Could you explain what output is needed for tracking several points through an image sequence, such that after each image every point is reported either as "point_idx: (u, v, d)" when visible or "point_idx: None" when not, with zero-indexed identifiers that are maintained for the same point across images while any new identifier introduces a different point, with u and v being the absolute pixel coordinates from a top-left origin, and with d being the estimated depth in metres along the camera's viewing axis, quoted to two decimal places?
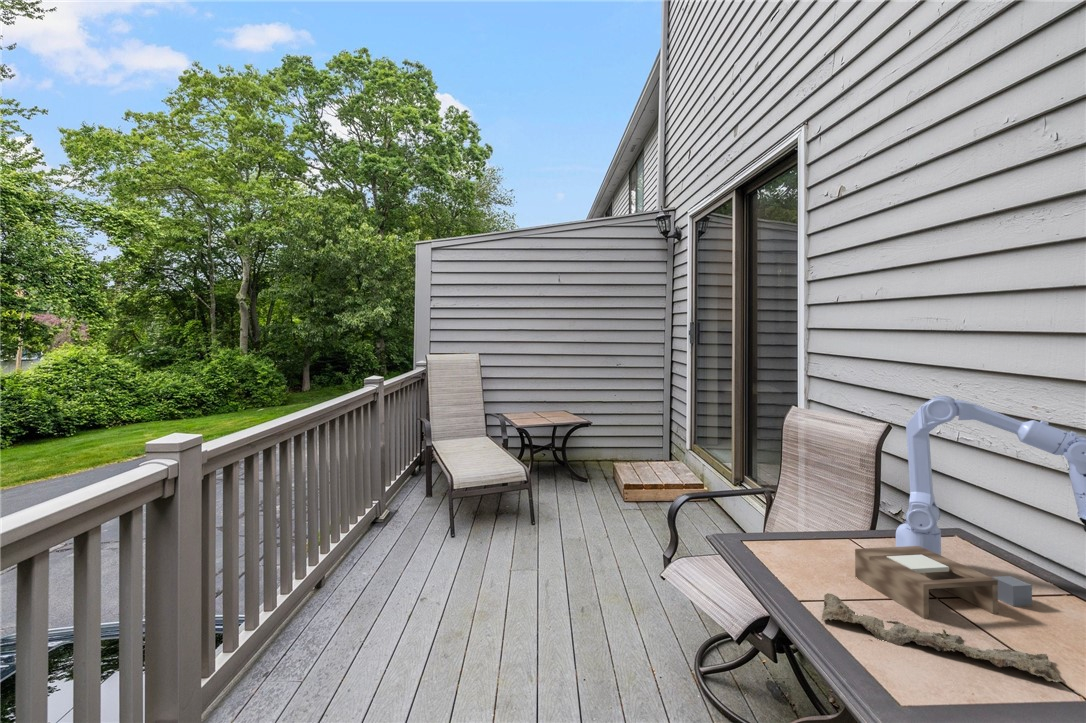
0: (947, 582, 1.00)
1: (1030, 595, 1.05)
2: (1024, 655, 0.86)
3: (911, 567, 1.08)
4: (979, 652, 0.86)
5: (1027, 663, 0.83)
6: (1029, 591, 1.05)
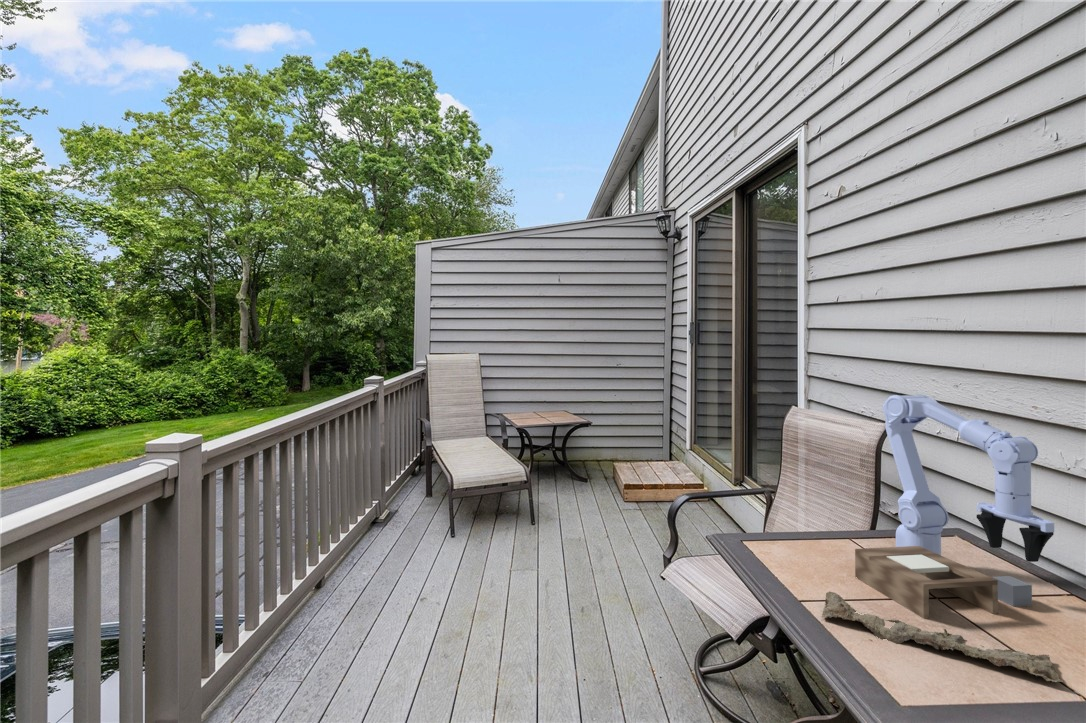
0: (947, 582, 1.00)
1: (1030, 595, 1.05)
2: (1025, 655, 0.86)
3: (911, 567, 1.08)
4: (979, 651, 0.86)
5: (1027, 663, 0.82)
6: (1029, 591, 1.05)
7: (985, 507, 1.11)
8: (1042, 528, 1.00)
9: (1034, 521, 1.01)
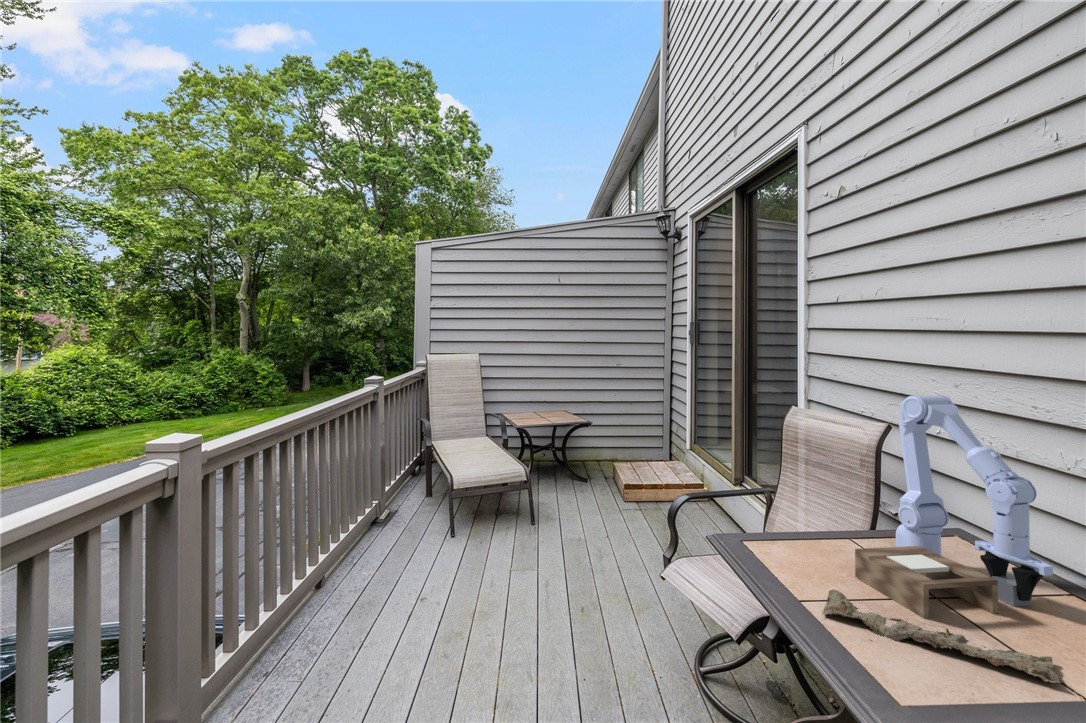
0: (947, 582, 1.00)
1: None
2: (1027, 657, 0.86)
3: (911, 567, 1.08)
4: (978, 651, 0.86)
5: (1027, 664, 0.82)
6: None
7: (983, 546, 1.11)
8: (1041, 571, 1.00)
9: (1033, 564, 1.01)
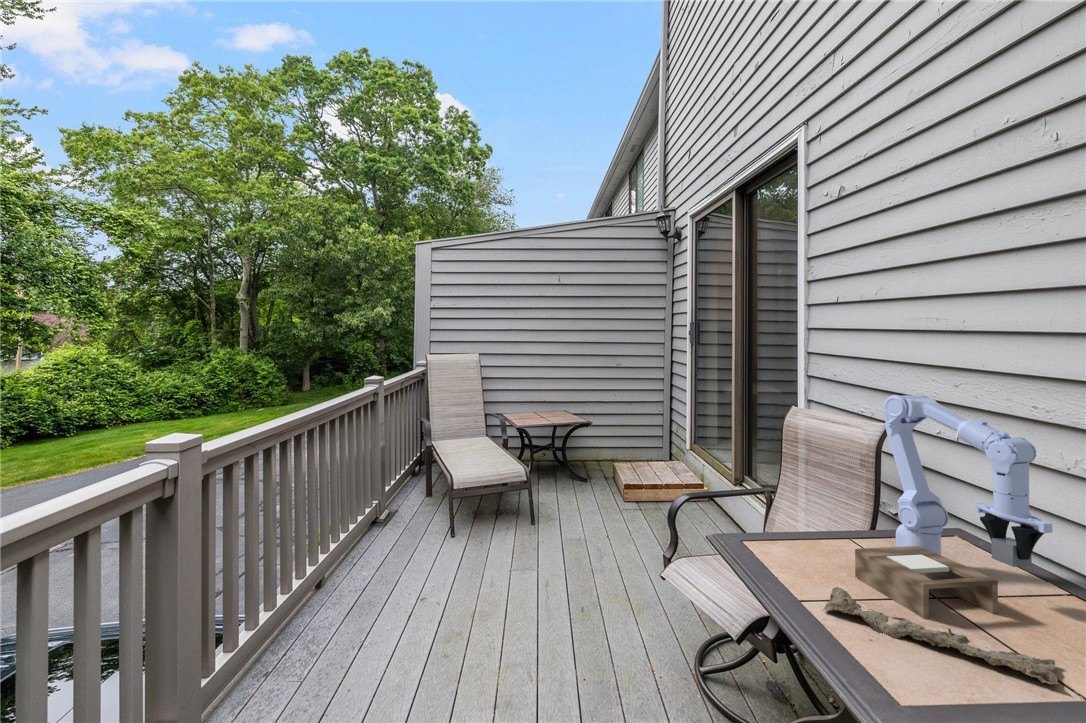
0: (947, 582, 1.00)
1: None
2: (1029, 659, 0.85)
3: (911, 567, 1.08)
4: (978, 651, 0.87)
5: (1026, 665, 0.82)
6: None
7: (983, 507, 1.11)
8: (1040, 529, 1.00)
9: (1032, 522, 1.01)
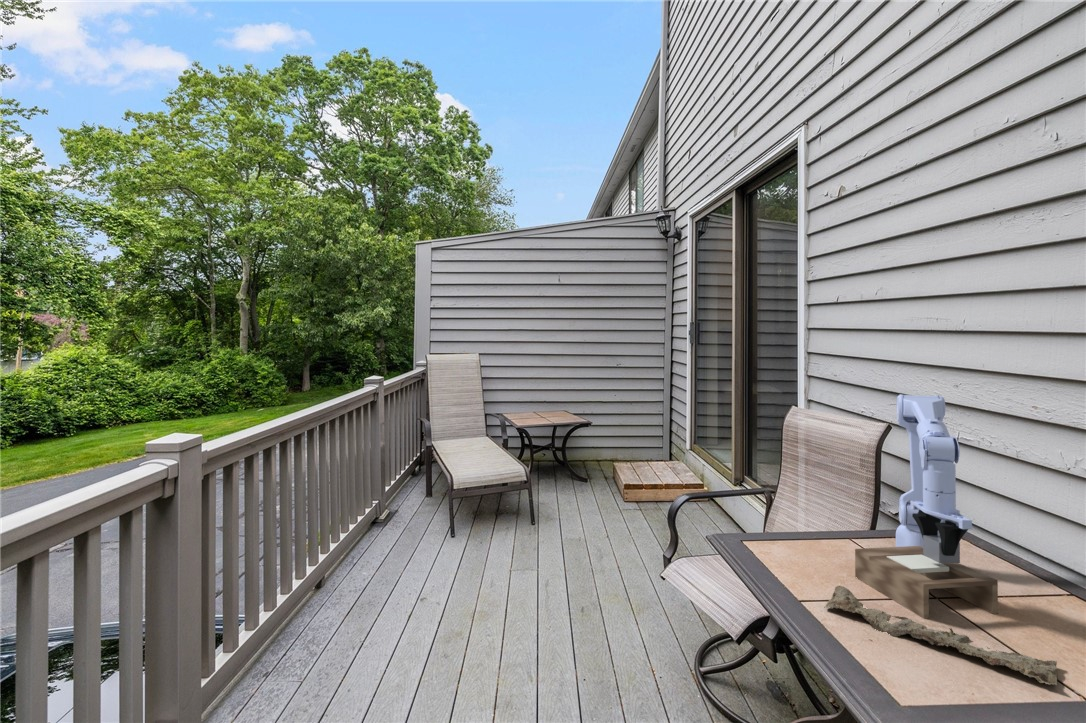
0: (947, 582, 1.00)
1: (957, 552, 1.06)
2: (1031, 660, 0.85)
3: (911, 567, 1.08)
4: (977, 651, 0.87)
5: (1025, 665, 0.82)
6: None
7: (916, 504, 1.13)
8: (960, 525, 1.02)
9: (953, 518, 1.03)
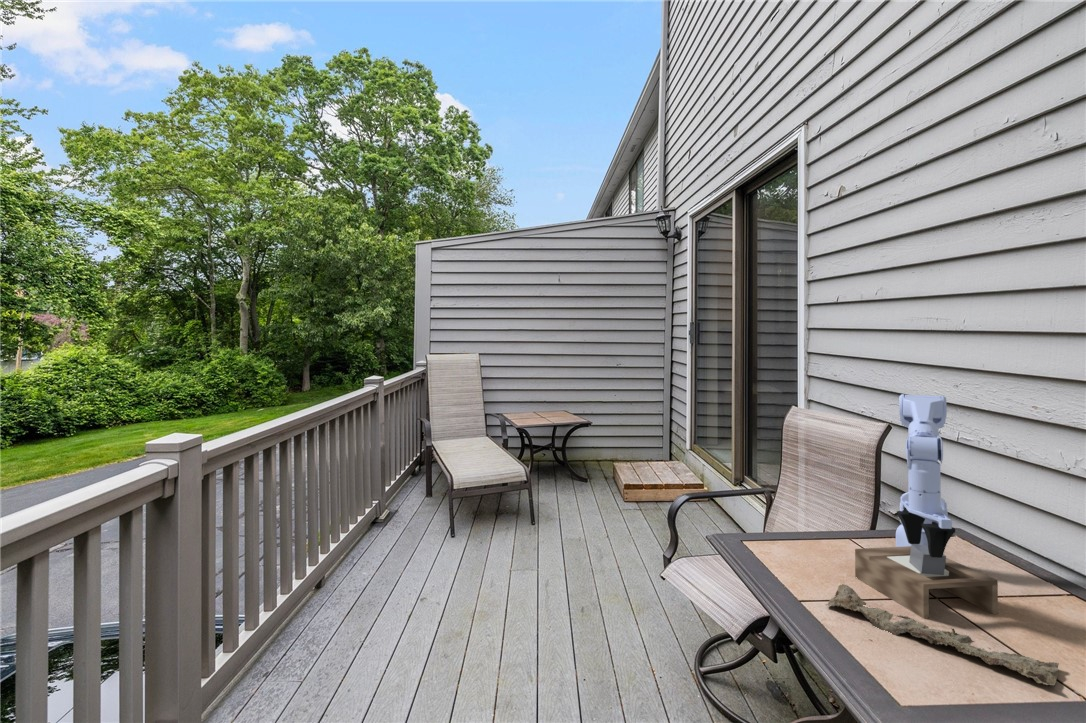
0: (947, 582, 1.00)
1: (942, 565, 1.06)
2: (1032, 661, 0.84)
3: None
4: (977, 650, 0.87)
5: (1025, 666, 0.82)
6: (942, 561, 1.06)
7: (904, 504, 1.14)
8: (939, 524, 1.02)
9: (934, 517, 1.04)
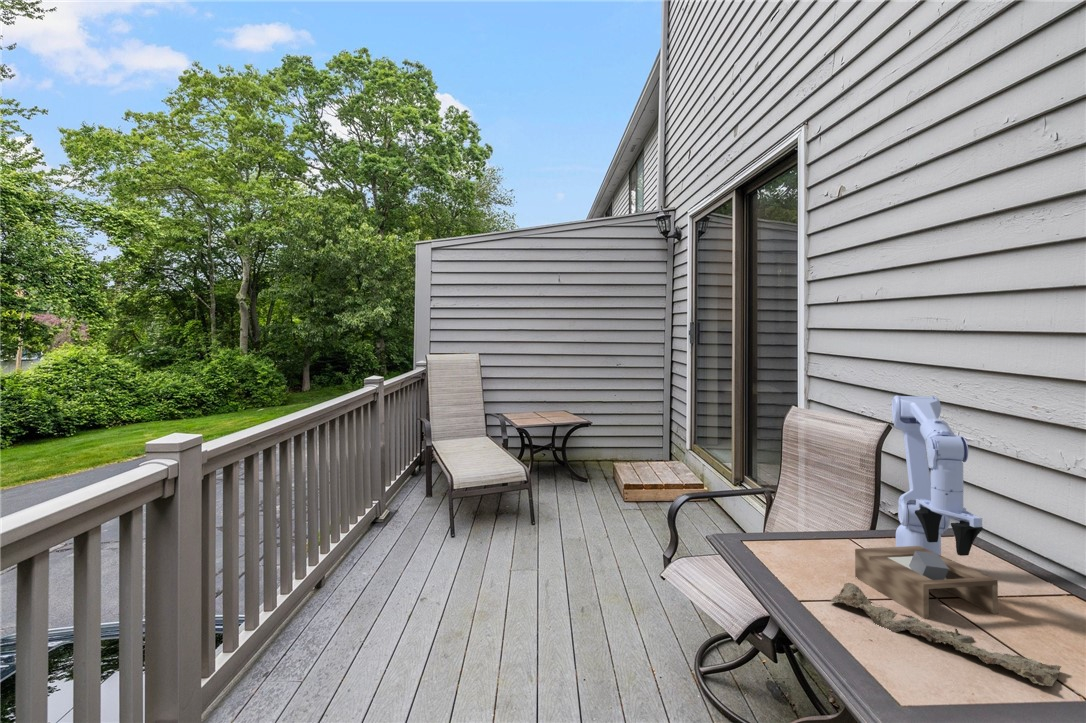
0: (947, 582, 1.00)
1: (943, 576, 1.06)
2: (1034, 663, 0.84)
3: None
4: (976, 650, 0.87)
5: (1023, 666, 0.82)
6: (943, 572, 1.06)
7: (922, 503, 1.15)
8: (971, 523, 1.03)
9: (964, 516, 1.05)
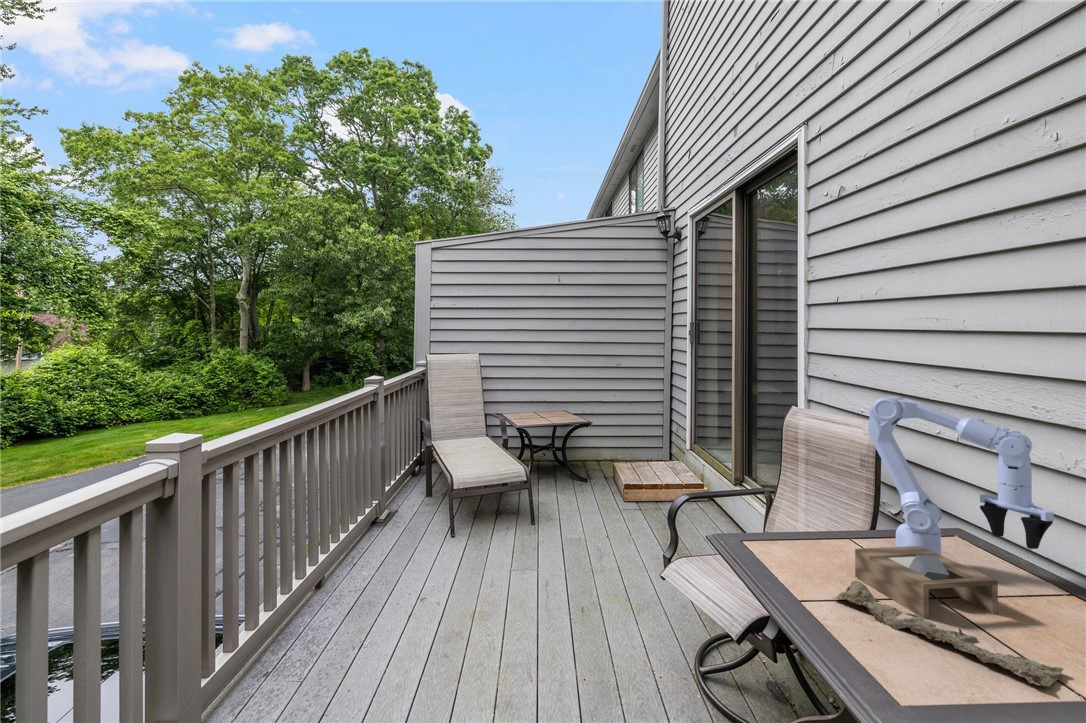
0: (947, 582, 1.00)
1: None
2: (1036, 664, 0.83)
3: None
4: (976, 649, 0.87)
5: (1022, 667, 0.82)
6: (943, 578, 1.06)
7: (988, 498, 1.18)
8: (1042, 517, 1.07)
9: (1035, 511, 1.08)
